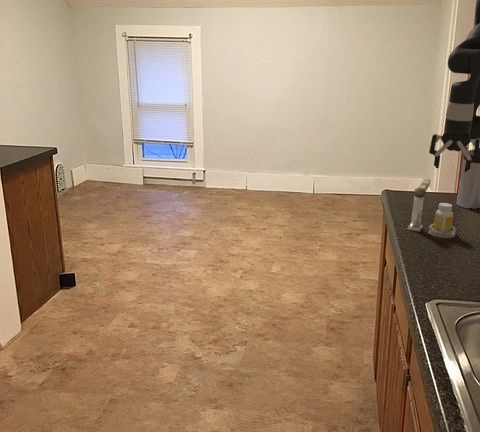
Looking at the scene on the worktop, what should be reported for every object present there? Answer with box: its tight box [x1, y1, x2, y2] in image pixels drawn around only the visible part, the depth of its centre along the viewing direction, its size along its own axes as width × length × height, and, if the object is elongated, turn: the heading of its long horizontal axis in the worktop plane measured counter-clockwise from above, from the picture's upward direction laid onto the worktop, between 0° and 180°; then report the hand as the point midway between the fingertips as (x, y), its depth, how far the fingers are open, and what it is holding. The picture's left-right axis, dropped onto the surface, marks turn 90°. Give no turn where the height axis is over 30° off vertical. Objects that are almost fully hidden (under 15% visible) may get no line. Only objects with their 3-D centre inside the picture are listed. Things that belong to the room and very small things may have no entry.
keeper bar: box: [413, 178, 431, 198], centre depth 188 cm, size 16×3×2 cm, turn 153°
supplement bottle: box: [433, 202, 454, 231], centre depth 181 cm, size 5×5×10 cm
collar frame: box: [407, 196, 457, 239], centre depth 182 cm, size 8×14×11 cm, turn 63°
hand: (451, 169), depth 176 cm, fingers open, 8 cm apart
